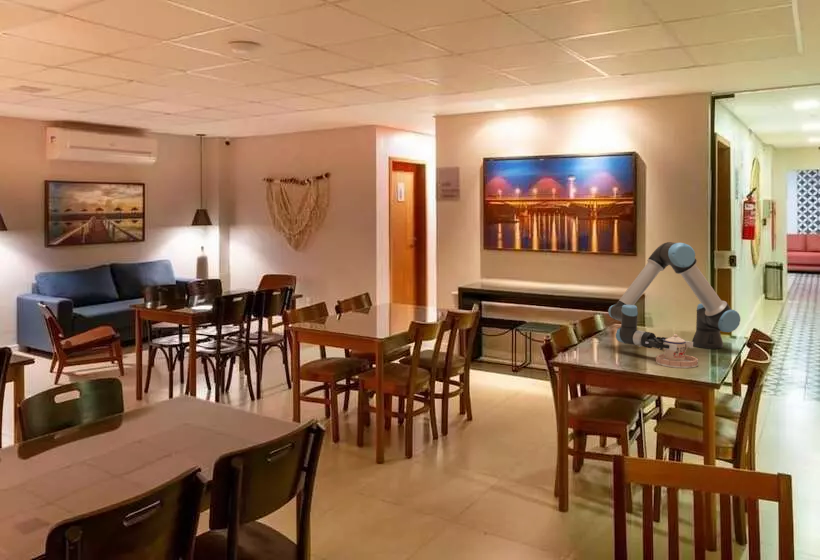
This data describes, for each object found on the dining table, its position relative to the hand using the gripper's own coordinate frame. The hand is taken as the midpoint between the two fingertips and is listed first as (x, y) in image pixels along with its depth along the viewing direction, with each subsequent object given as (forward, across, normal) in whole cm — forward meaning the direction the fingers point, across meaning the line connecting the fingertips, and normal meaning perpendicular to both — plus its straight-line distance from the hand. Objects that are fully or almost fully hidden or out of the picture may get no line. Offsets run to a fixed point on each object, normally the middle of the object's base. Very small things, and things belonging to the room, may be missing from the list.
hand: (684, 346), depth 310 cm
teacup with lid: (-4, 0, -7) cm, 8 cm away
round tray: (-4, 0, -9) cm, 10 cm away
